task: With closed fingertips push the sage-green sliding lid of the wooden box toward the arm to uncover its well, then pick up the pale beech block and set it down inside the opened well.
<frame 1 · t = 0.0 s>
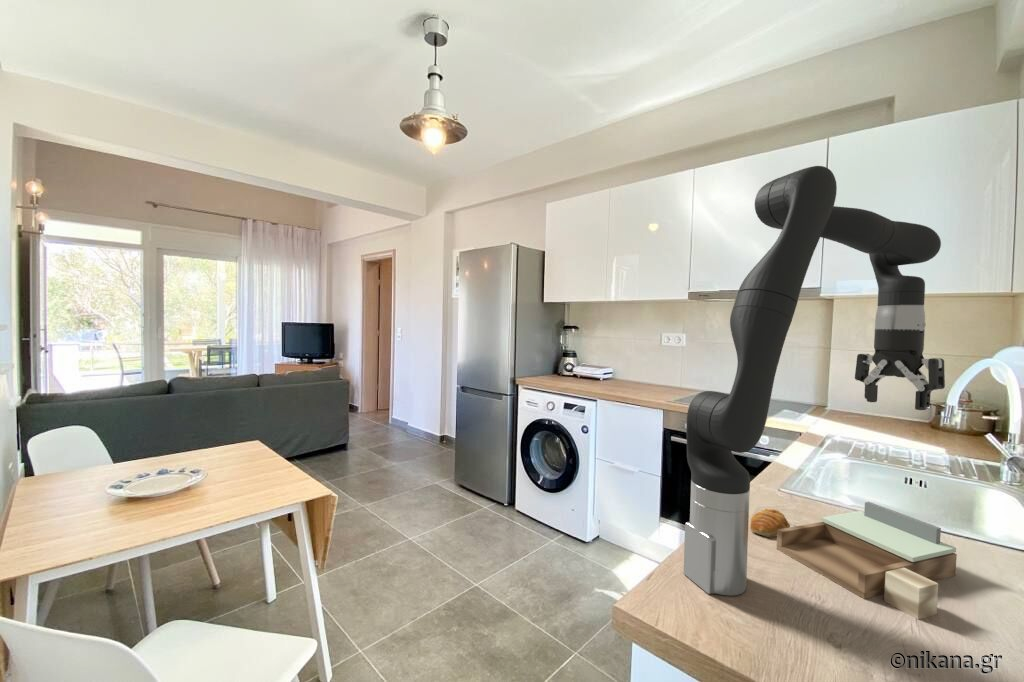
hand: (895, 405, 85), 29 cm above the countertop, fingers open, 8 cm apart
lid: (884, 526, 81), point 6 cm above the countertop, slide at 0.0 cm
wooden box: (861, 561, 80), on the countertop
pastry: (768, 531, 92), on the countertop
block: (909, 607, 67), on the countertop
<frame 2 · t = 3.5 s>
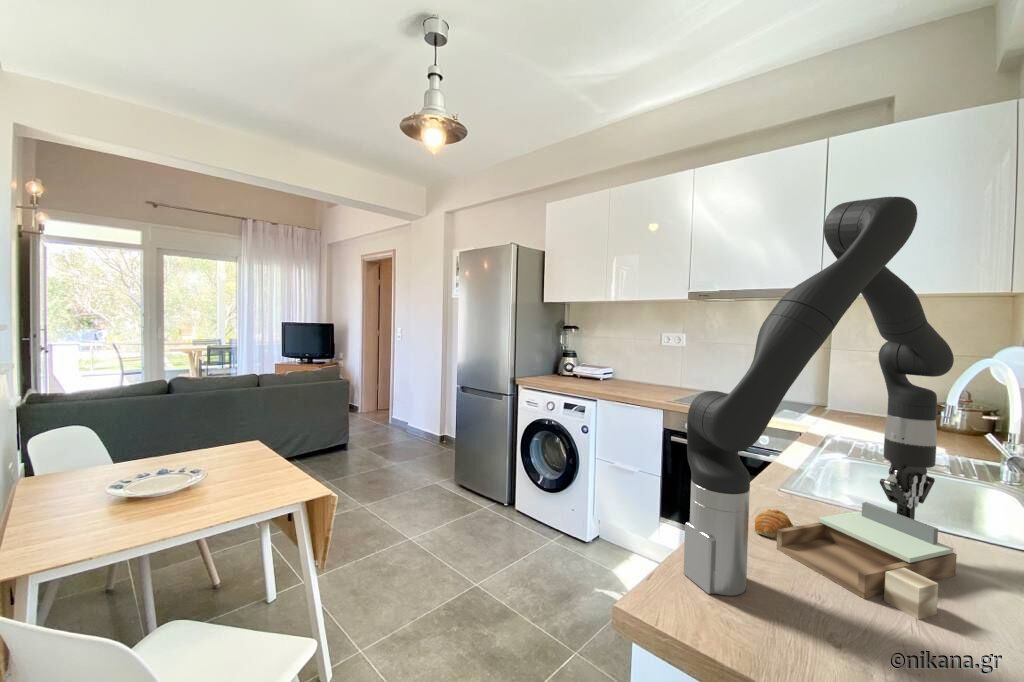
hand: (905, 523, 83), 6 cm above the countertop, fingers closed
lid: (881, 526, 81), point 6 cm above the countertop, slide at 0.8 cm, touching gripper
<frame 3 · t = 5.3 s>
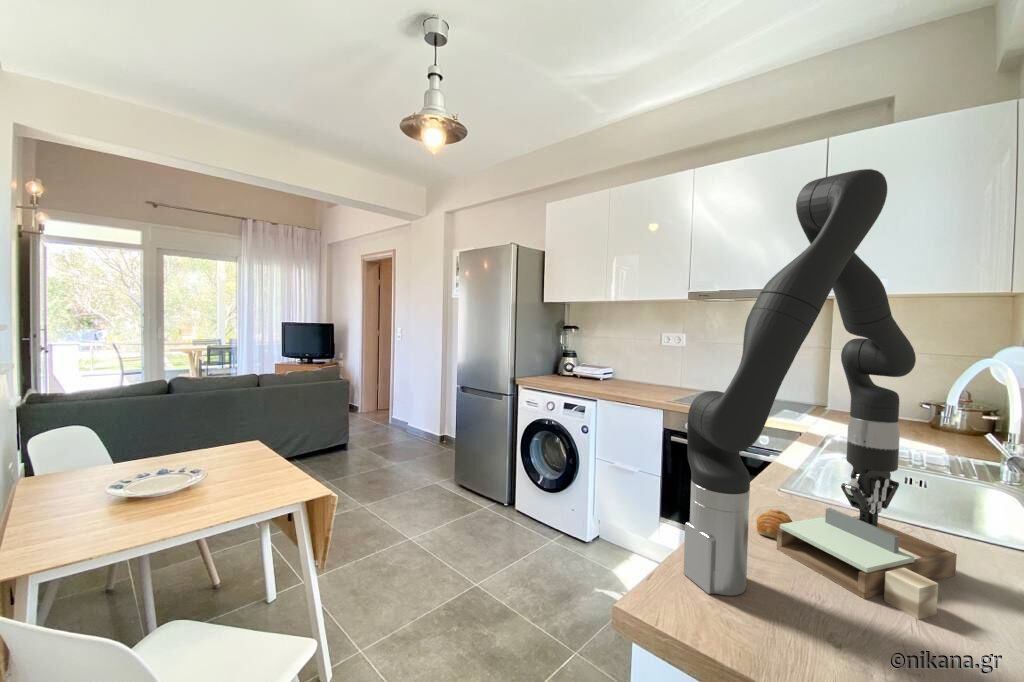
hand: (868, 530, 80), 6 cm above the countertop, fingers closed
lid: (842, 534, 78), point 6 cm above the countertop, slide at 11.5 cm, touching gripper
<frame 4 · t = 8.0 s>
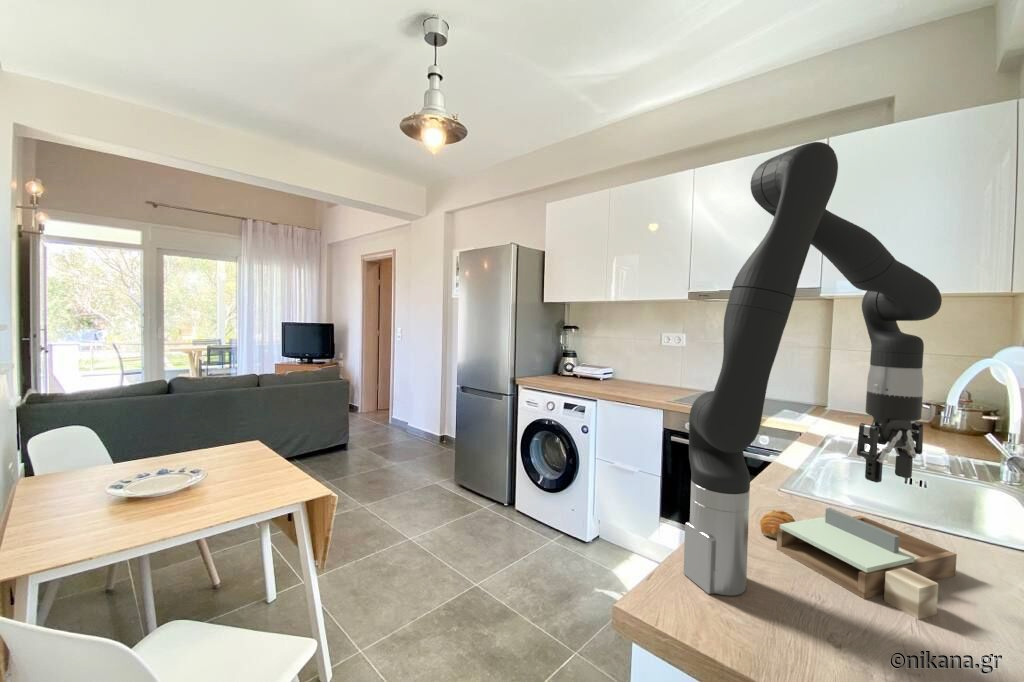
hand: (888, 478, 76), 17 cm above the countertop, fingers open, 8 cm apart
lid: (842, 534, 78), point 6 cm above the countertop, slide at 11.5 cm
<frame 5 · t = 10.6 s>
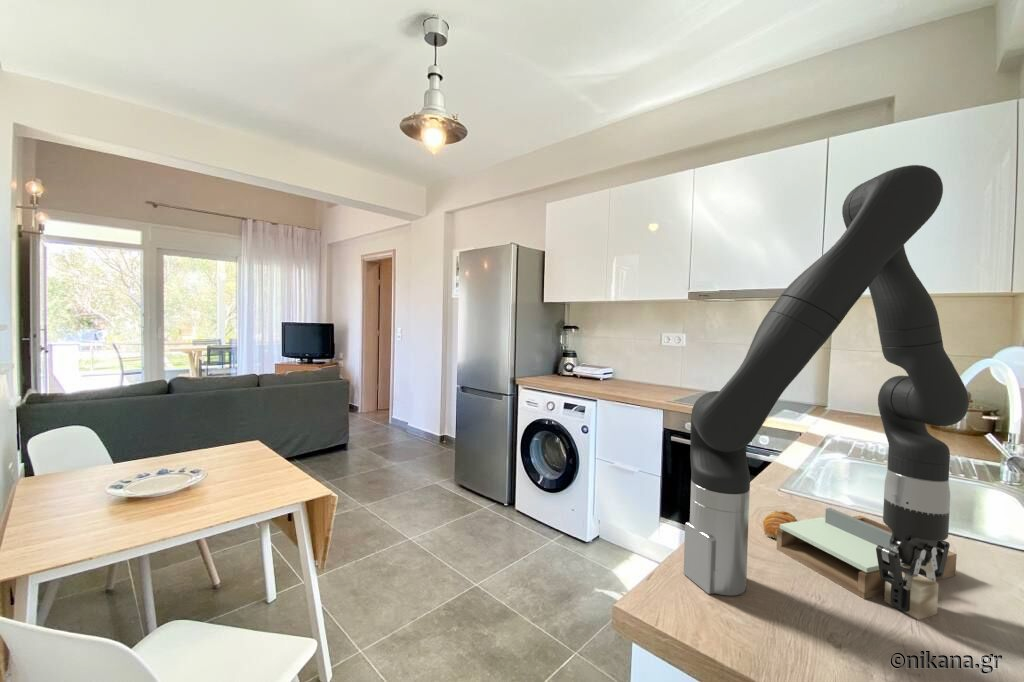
hand: (910, 605, 66), 0 cm above the countertop, fingers closed on block, 4 cm apart
block: (910, 607, 67), on the countertop, touching gripper
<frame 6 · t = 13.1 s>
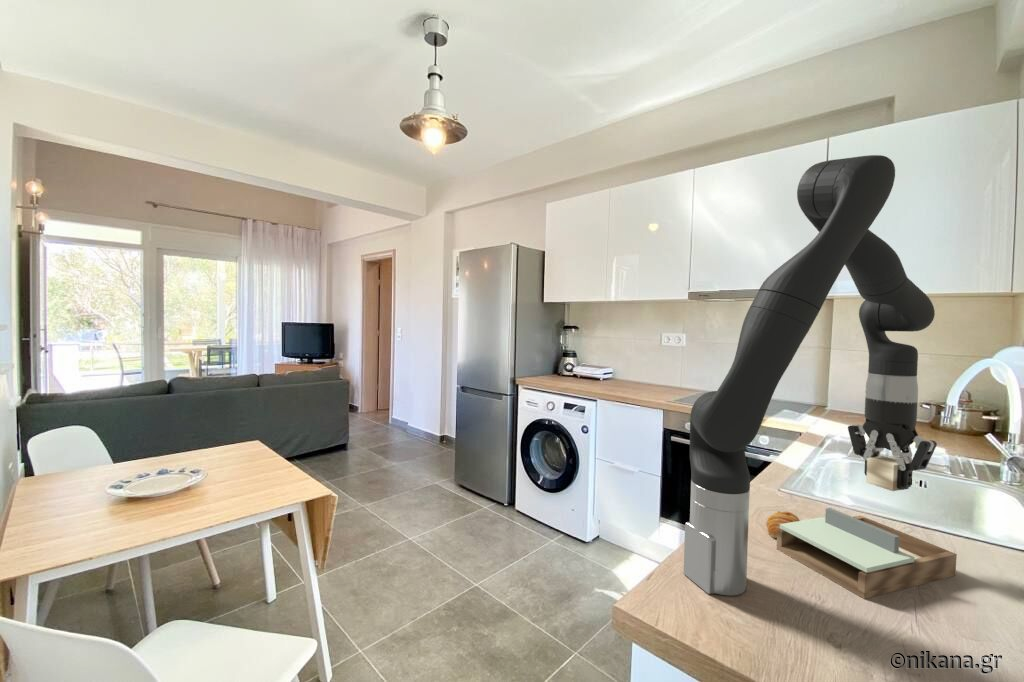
hand: (886, 483, 81), 15 cm above the countertop, fingers closed on block, 4 cm apart
block: (887, 485, 81), point 14 cm above the countertop, touching gripper
when the fingers open (3 cm above the countertop, at t = 15.6 s): block drops 1 cm, resting on wooden box.
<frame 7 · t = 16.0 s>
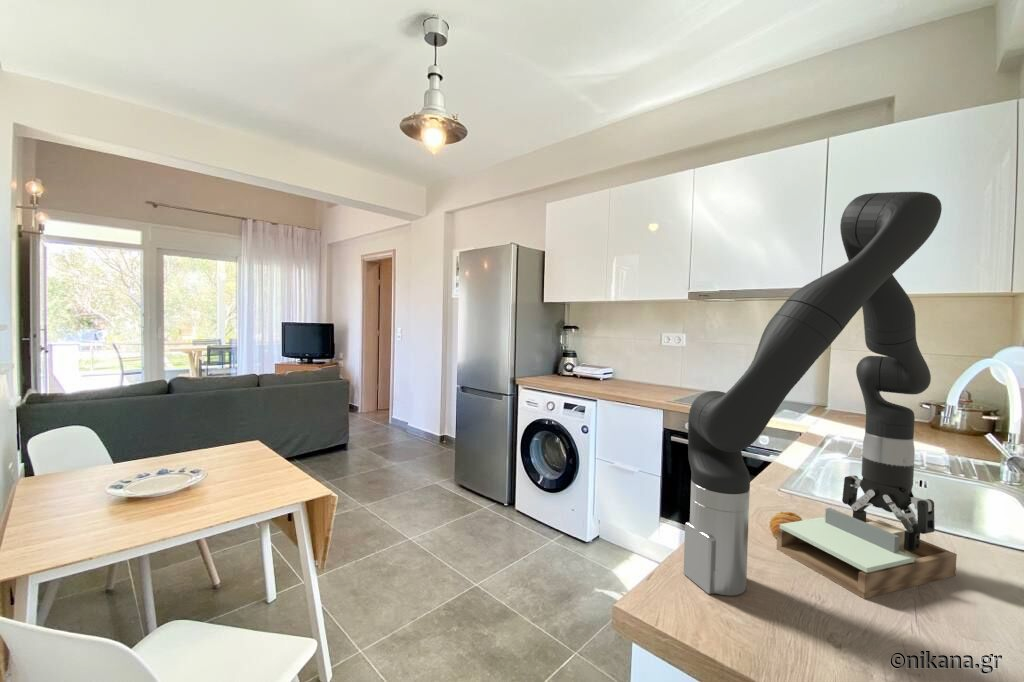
hand: (883, 539, 81), 4 cm above the countertop, fingers open, 8 cm apart
block: (883, 551, 81), point 1 cm above the countertop, touching wooden box
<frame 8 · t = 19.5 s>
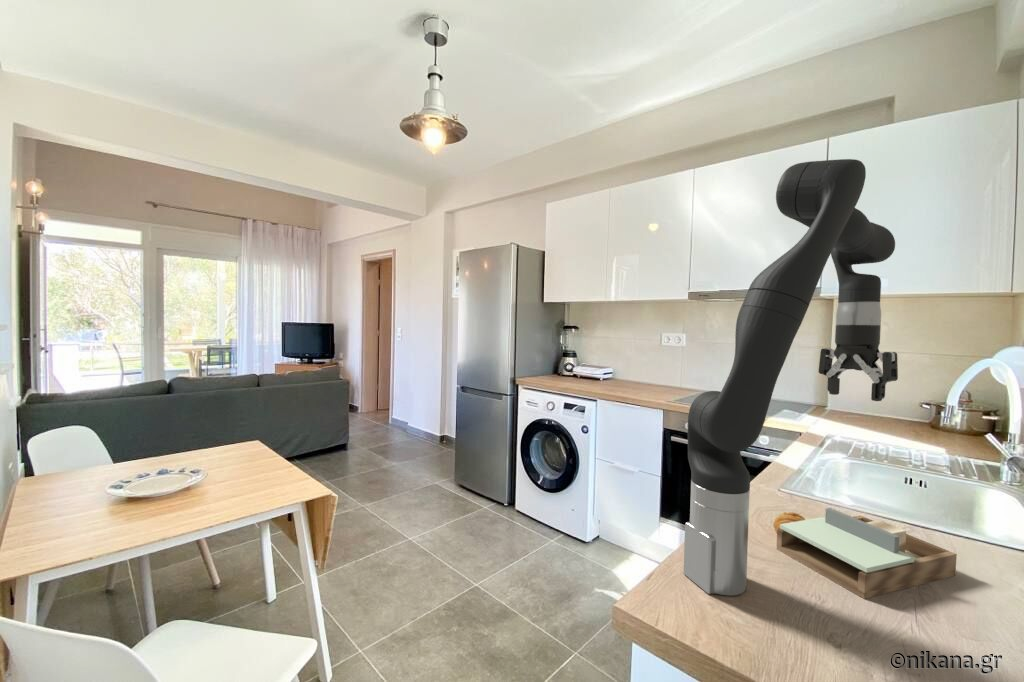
hand: (854, 397, 90), 30 cm above the countertop, fingers open, 8 cm apart
at the end: lid slide at 11.5 cm; block inside the target area on the wooden box (0.1 cm from its centre), point 1.1 cm above the wooden box's base; the gripper is holding nothing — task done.
